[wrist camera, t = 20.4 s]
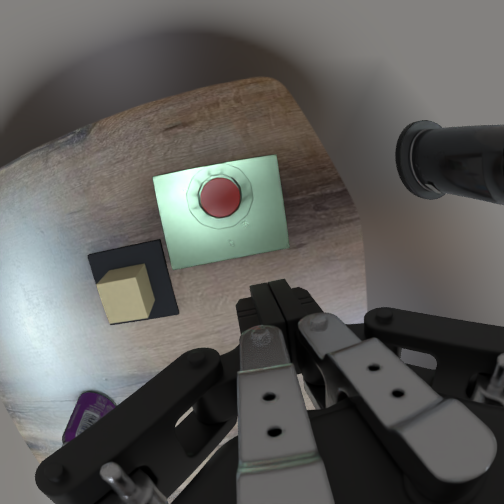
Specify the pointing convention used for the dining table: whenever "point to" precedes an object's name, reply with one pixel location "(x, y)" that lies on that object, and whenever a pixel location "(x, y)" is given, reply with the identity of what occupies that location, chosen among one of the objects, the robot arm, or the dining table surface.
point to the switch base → (222, 228)
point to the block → (126, 294)
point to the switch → (220, 197)
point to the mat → (156, 272)
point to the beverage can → (86, 414)
